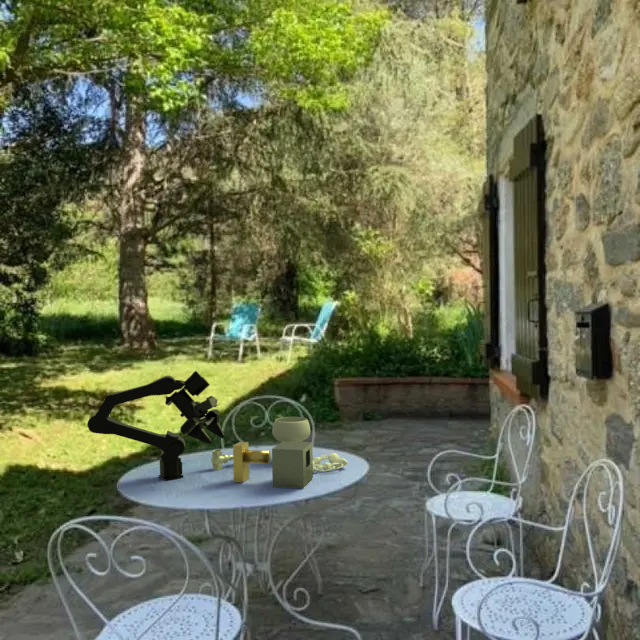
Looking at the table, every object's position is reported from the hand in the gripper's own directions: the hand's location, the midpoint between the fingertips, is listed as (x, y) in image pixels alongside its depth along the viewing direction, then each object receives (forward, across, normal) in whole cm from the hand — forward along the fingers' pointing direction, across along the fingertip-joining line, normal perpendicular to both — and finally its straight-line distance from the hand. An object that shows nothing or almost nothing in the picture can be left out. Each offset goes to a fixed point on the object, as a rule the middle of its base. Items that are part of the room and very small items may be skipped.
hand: (217, 440), depth 222 cm
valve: (+6, +16, +12) cm, 21 cm away
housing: (+27, +1, -9) cm, 29 cm away
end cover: (+18, 0, 0) cm, 18 cm away
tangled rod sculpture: (+30, +21, -11) cm, 38 cm away
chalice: (+19, +32, -1) cm, 37 cm away
